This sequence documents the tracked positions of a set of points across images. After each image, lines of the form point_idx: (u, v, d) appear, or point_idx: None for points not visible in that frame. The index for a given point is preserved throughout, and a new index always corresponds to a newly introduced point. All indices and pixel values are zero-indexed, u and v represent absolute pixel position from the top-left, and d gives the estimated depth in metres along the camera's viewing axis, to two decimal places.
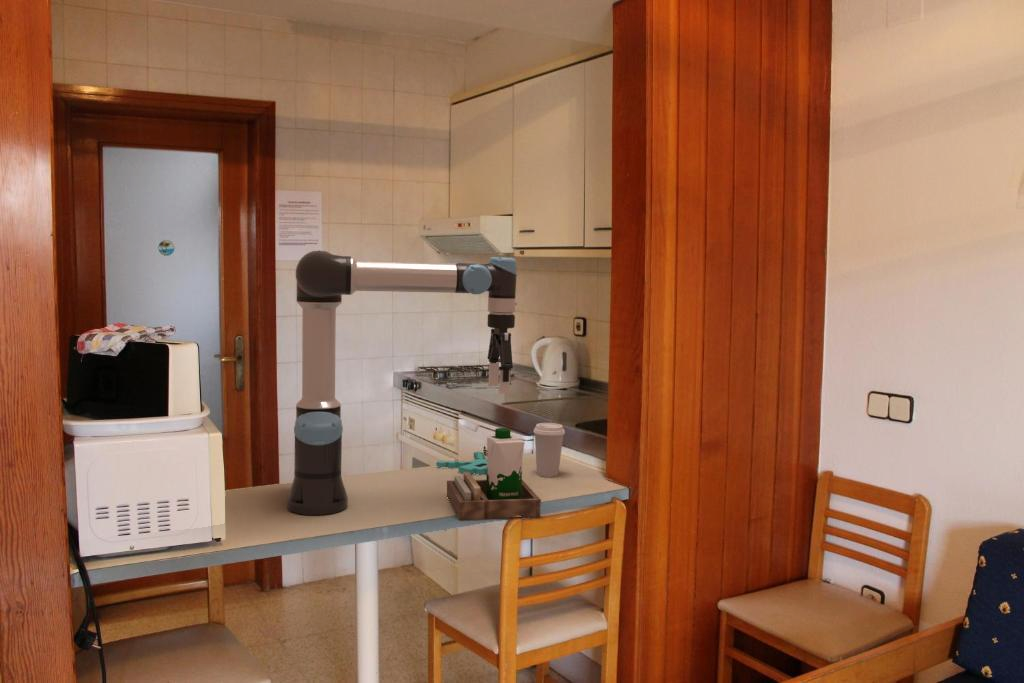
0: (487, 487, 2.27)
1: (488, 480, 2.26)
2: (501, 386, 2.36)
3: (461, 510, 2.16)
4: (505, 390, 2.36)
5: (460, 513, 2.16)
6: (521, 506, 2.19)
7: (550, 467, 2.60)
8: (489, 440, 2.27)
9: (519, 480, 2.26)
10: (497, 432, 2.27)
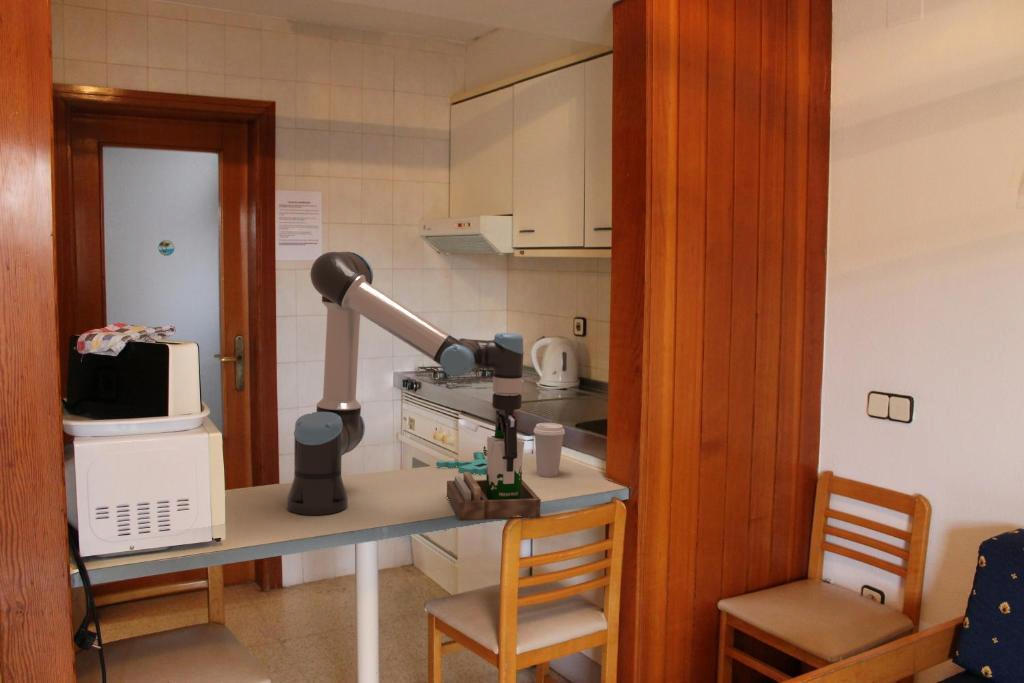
0: (487, 487, 2.27)
1: (488, 480, 2.26)
2: (504, 476, 2.22)
3: (461, 510, 2.16)
4: (509, 480, 2.23)
5: (460, 513, 2.16)
6: (521, 506, 2.19)
7: (550, 467, 2.60)
8: (489, 440, 2.27)
9: (519, 480, 2.26)
10: (497, 432, 2.27)
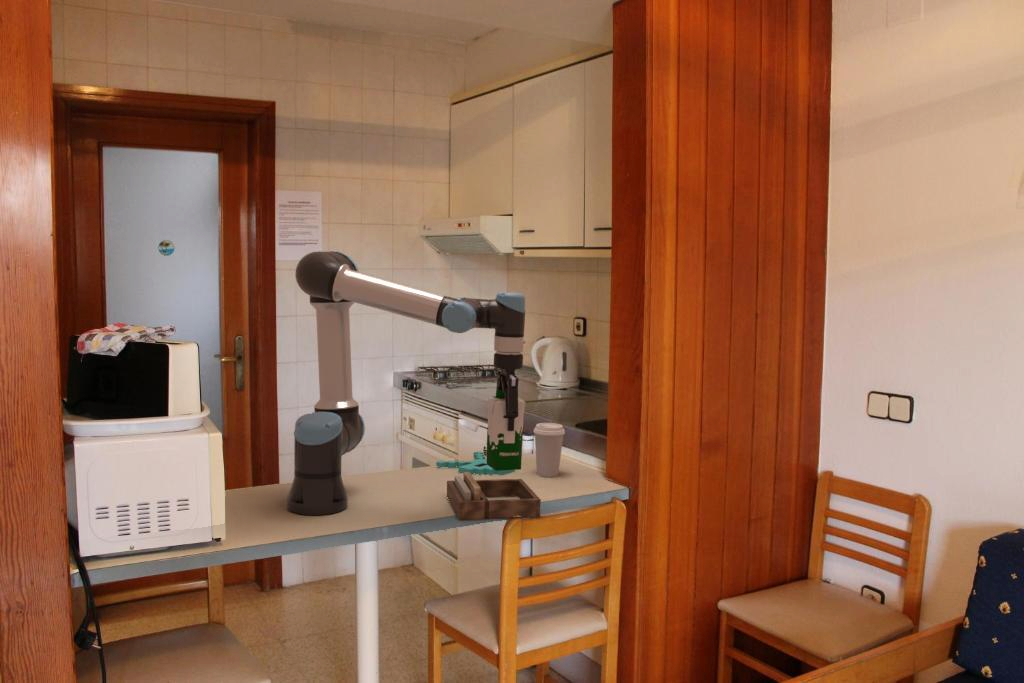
0: (487, 447, 2.26)
1: (489, 440, 2.25)
2: (505, 435, 2.21)
3: (461, 510, 2.16)
4: (510, 439, 2.22)
5: (460, 513, 2.16)
6: (521, 506, 2.19)
7: (550, 467, 2.60)
8: (490, 400, 2.26)
9: (520, 440, 2.25)
10: (498, 392, 2.26)
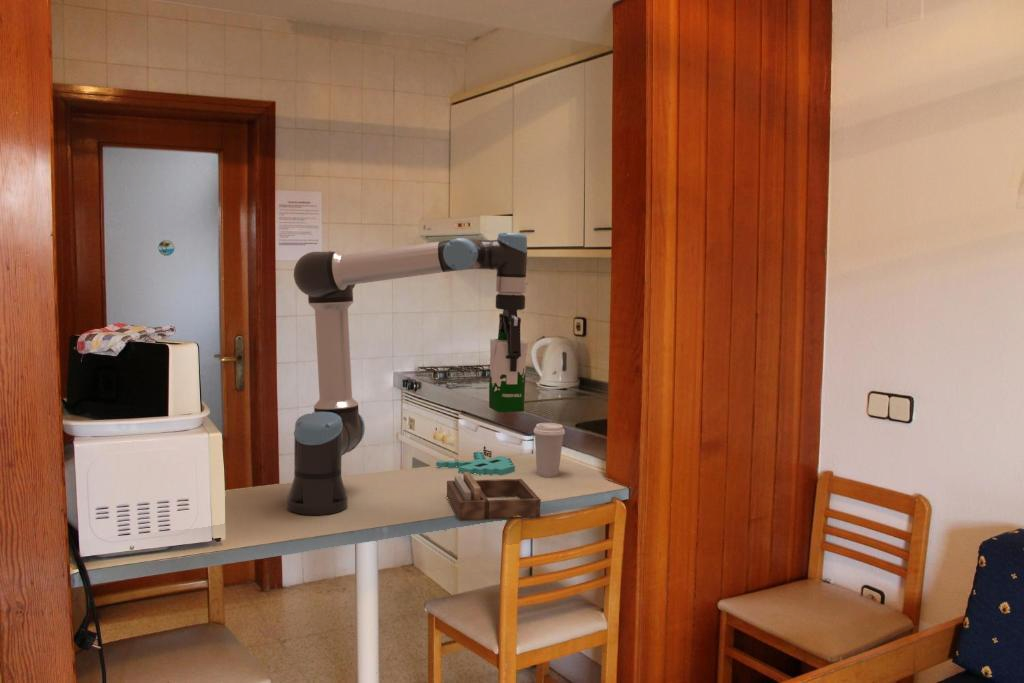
0: (490, 390, 2.25)
1: (491, 382, 2.24)
2: (508, 376, 2.20)
3: (461, 510, 2.16)
4: (512, 380, 2.20)
5: (460, 513, 2.16)
6: (521, 506, 2.19)
7: (550, 467, 2.60)
8: (492, 342, 2.24)
9: (522, 382, 2.23)
10: (500, 334, 2.25)
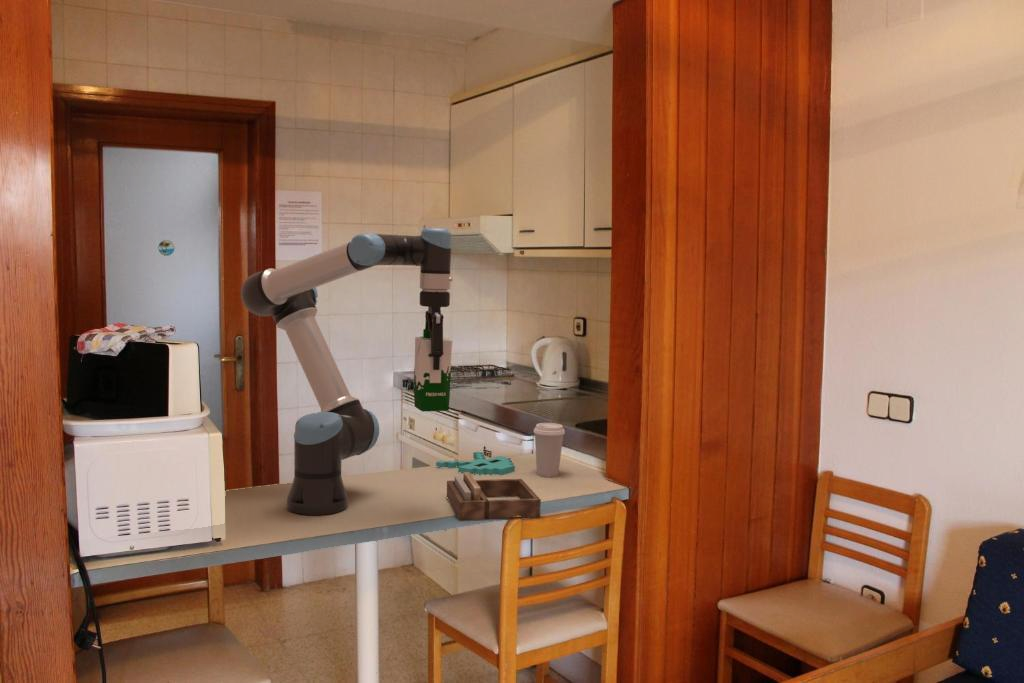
0: (414, 388, 2.20)
1: (415, 381, 2.19)
2: (431, 375, 2.15)
3: (461, 510, 2.16)
4: (436, 379, 2.16)
5: (460, 513, 2.16)
6: (521, 506, 2.19)
7: (550, 467, 2.60)
8: (416, 339, 2.20)
9: (447, 380, 2.19)
10: (425, 331, 2.20)
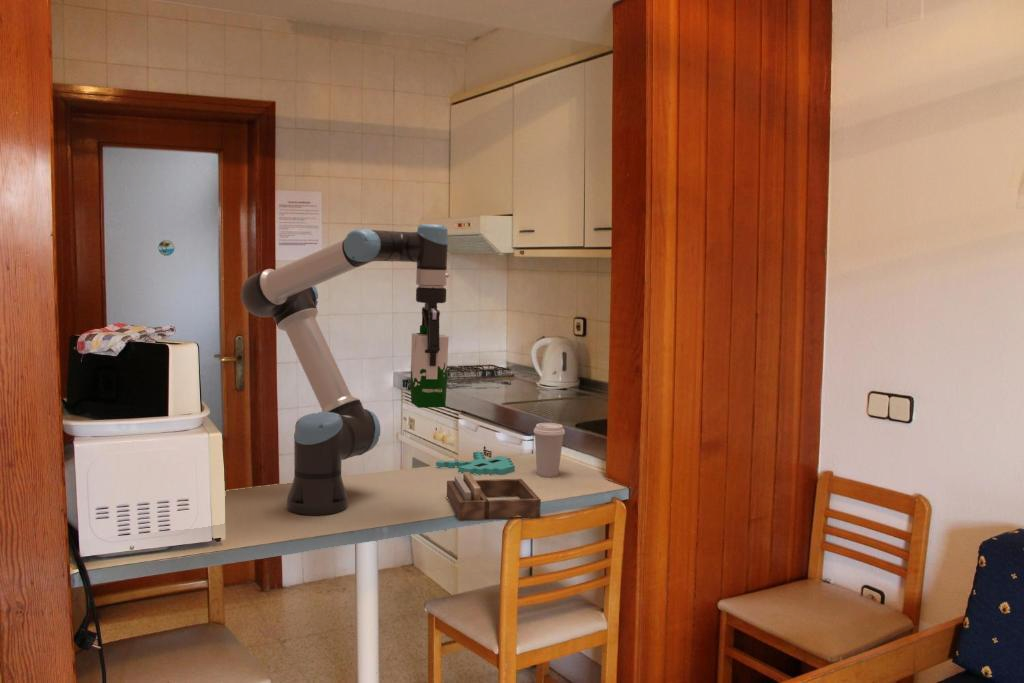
0: (411, 385, 2.20)
1: (412, 377, 2.19)
2: (427, 371, 2.15)
3: (461, 510, 2.16)
4: (432, 375, 2.15)
5: (460, 513, 2.16)
6: (521, 506, 2.19)
7: (550, 467, 2.60)
8: (413, 336, 2.19)
9: (443, 377, 2.18)
10: (421, 328, 2.20)
